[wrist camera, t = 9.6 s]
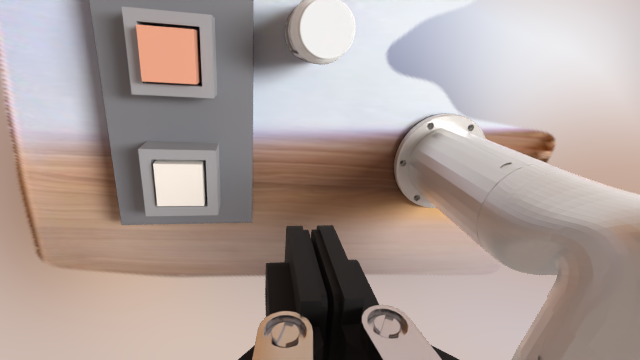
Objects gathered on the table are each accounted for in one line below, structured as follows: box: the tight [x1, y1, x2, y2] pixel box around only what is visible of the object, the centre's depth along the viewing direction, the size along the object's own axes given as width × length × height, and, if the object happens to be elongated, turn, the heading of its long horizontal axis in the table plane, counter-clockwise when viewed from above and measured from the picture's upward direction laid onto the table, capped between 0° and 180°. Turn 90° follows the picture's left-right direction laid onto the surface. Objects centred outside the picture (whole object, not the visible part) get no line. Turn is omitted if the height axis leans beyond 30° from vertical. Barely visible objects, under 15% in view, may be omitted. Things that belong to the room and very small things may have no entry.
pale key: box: [153, 160, 207, 206], centre depth 35 cm, size 4×4×3 cm
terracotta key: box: [136, 24, 201, 84], centre depth 30 cm, size 4×4×3 cm
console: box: [89, 0, 253, 225], centre depth 35 cm, size 14×24×6 cm, turn 176°
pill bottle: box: [285, 0, 355, 64], centre depth 32 cm, size 6×6×10 cm
